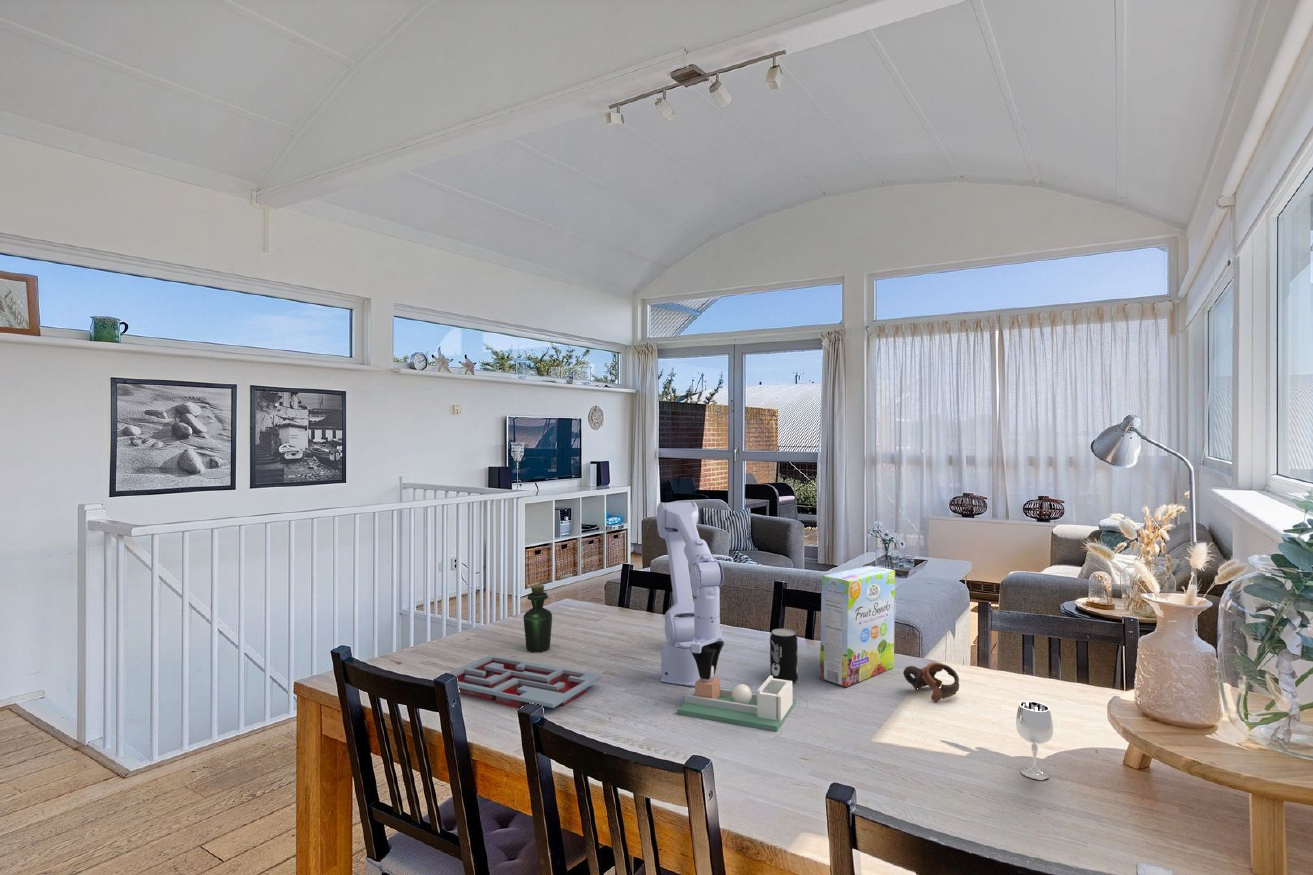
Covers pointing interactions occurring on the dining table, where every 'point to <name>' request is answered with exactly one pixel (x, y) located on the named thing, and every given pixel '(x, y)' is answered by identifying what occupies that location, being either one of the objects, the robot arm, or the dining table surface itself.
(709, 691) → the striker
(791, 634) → the beverage can
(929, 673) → the brown curved loop
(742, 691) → the ball
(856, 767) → the dining table surface
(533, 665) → the maze game
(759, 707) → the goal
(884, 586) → the snack box
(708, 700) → the pitch board
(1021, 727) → the wineglass
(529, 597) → the potion bottle
